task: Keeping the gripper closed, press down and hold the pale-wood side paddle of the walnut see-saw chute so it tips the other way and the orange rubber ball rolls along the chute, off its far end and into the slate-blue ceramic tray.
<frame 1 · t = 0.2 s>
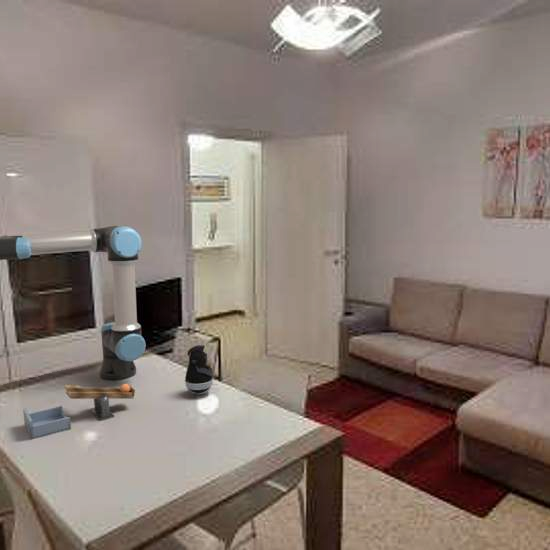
toy: (199, 394, 193), on the table
tray: (47, 427, 166), on the table
ball: (125, 388, 180), point 7 cm above the table, tilted 6°, touching lever
lever: (98, 388, 178), point 8 cm above the table, hinge at -14.1°, touching ball
stand: (102, 413, 176), on the table
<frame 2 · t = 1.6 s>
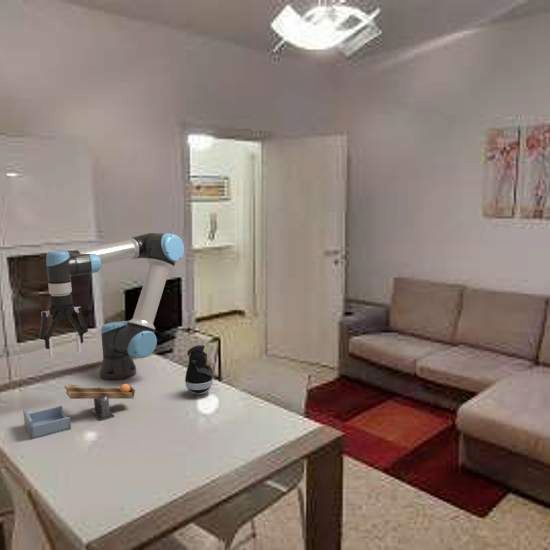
hand: (65, 354, 181), 19 cm above the table, fingers open, 9 cm apart
nothing on the table moved.
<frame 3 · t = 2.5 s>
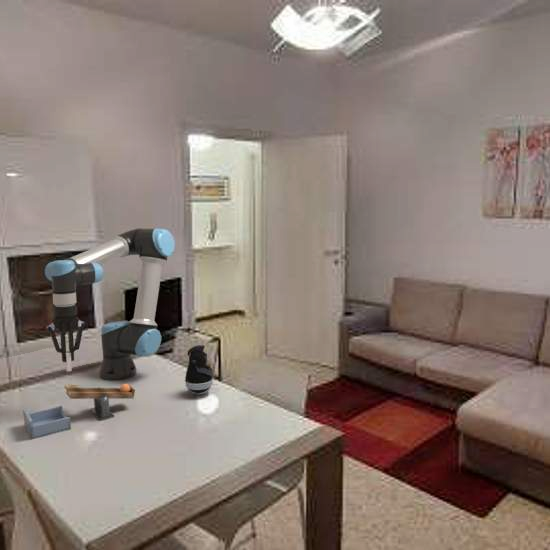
hand: (68, 370, 176), 16 cm above the table, fingers closed
nothing on the table moved.
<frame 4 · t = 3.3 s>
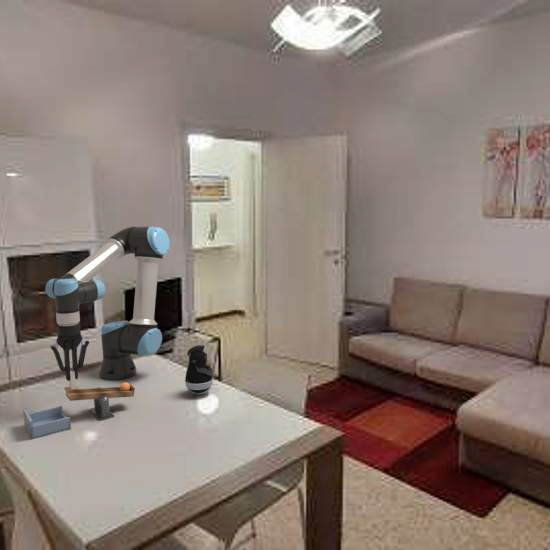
hand: (72, 388, 176), 9 cm above the table, fingers closed
lever: (98, 388, 178), point 8 cm above the table, hinge at -10.2°, touching ball, gripper
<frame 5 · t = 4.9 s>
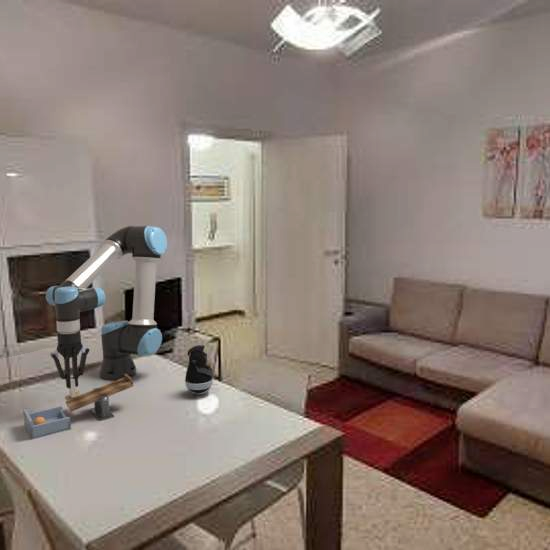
hand: (72, 396, 176), 6 cm above the table, fingers closed
ball: (39, 422, 164), point 2 cm above the table, tilted 77°, touching tray
lever: (97, 388, 178), point 8 cm above the table, hinge at 10.2°, touching gripper
everything else where it was.
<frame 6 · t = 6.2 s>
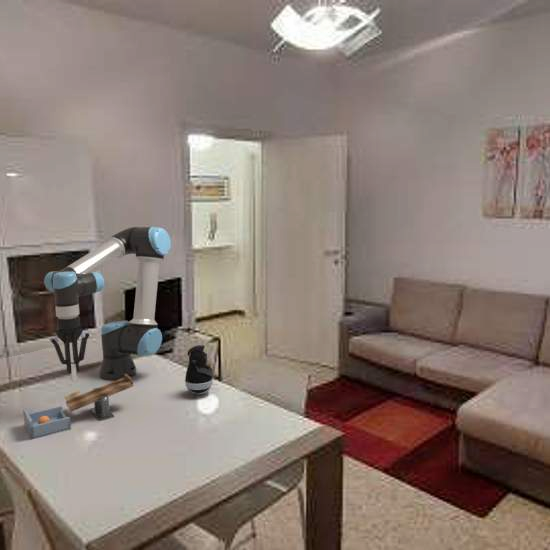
hand: (74, 380, 176), 12 cm above the table, fingers closed
ball: (43, 421, 165), point 2 cm above the table, tilted 120°, touching tray
lever: (97, 388, 178), point 8 cm above the table, hinge at 10.2°
everything else where it was.
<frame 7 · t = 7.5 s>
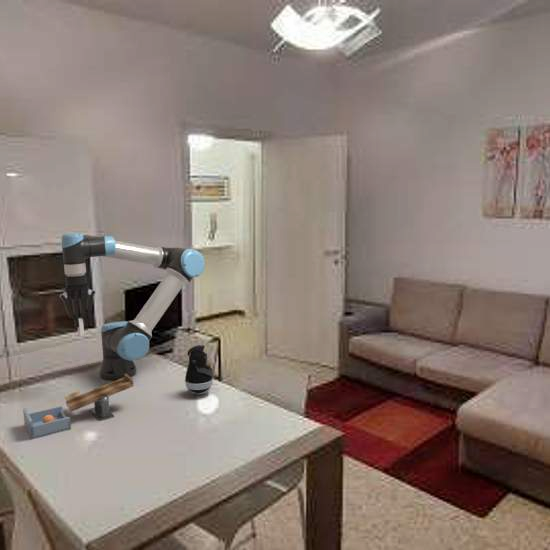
hand: (81, 334, 191), 24 cm above the table, fingers closed
ball: (48, 420, 166), point 2 cm above the table, tilted 163°, touching tray
everything else where it was.
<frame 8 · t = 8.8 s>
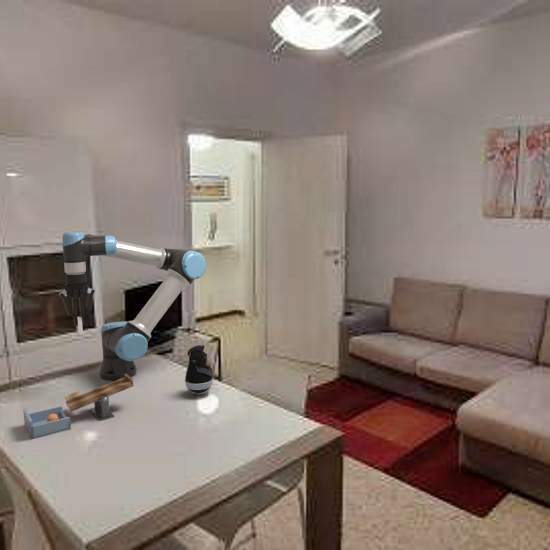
hand: (80, 333, 191), 24 cm above the table, fingers closed
ball: (52, 419, 166), point 2 cm above the table, tilted 154°, touching tray
everything else where it was.
at the end: ball inside the target area on the tray (1.9 cm from its centre), point 2.4 cm above the tray's base; ball moved 25.2 cm from its start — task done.
